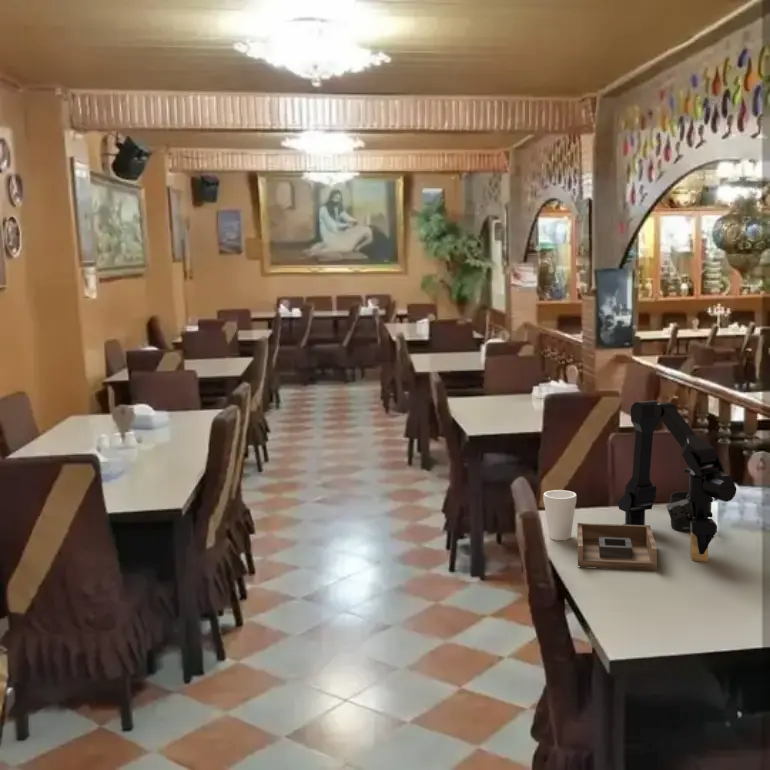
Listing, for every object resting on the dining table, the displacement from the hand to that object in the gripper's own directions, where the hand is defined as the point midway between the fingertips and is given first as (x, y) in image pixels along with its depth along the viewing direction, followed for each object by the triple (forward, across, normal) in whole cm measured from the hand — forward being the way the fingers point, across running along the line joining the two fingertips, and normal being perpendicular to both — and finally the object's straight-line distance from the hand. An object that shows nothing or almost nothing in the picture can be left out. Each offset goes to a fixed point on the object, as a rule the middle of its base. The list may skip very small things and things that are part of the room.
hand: (698, 548), depth 239 cm
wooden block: (+3, 0, 0) cm, 3 cm away
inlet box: (+3, +1, -22) cm, 22 cm away
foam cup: (+3, -14, -37) cm, 40 cm away
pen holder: (+3, -27, 0) cm, 27 cm away
